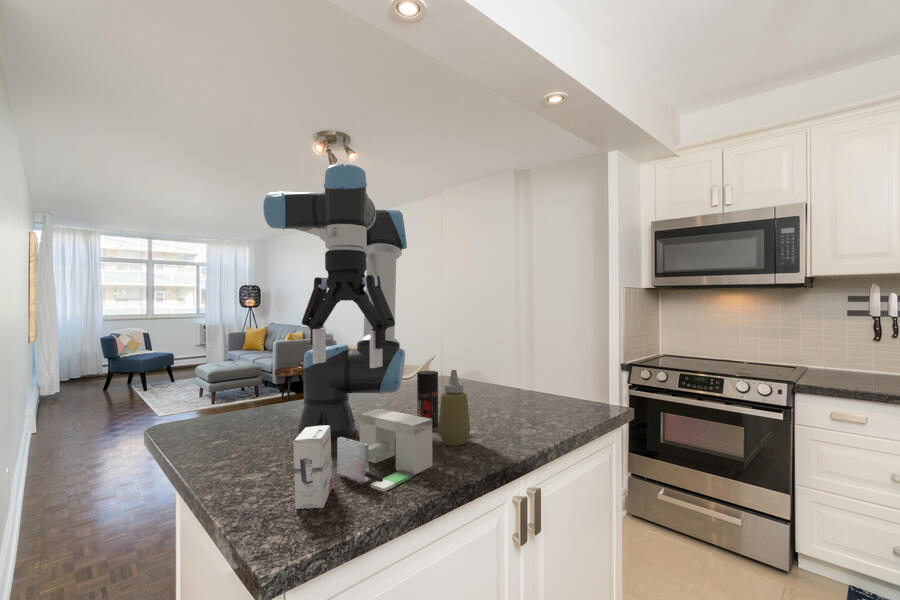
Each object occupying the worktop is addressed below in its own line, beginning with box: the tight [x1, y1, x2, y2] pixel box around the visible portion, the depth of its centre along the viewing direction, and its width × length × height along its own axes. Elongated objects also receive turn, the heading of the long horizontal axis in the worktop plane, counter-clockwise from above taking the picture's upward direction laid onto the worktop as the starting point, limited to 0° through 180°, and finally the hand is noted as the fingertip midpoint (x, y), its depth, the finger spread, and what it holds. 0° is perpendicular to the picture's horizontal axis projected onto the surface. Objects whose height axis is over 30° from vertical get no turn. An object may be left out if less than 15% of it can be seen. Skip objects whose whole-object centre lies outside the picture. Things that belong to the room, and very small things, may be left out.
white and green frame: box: [359, 408, 433, 493], centre depth 90 cm, size 16×15×10 cm
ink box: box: [292, 425, 333, 510], centre depth 77 cm, size 9×5×12 cm, turn 5°
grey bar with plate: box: [336, 437, 389, 483], centre depth 87 cm, size 12×10×7 cm
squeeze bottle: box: [437, 369, 471, 447], centre depth 107 cm, size 8×8×18 cm
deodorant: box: [416, 370, 439, 429], centre depth 122 cm, size 6×6×15 cm
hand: (346, 365), depth 80 cm, fingers open, 13 cm apart
